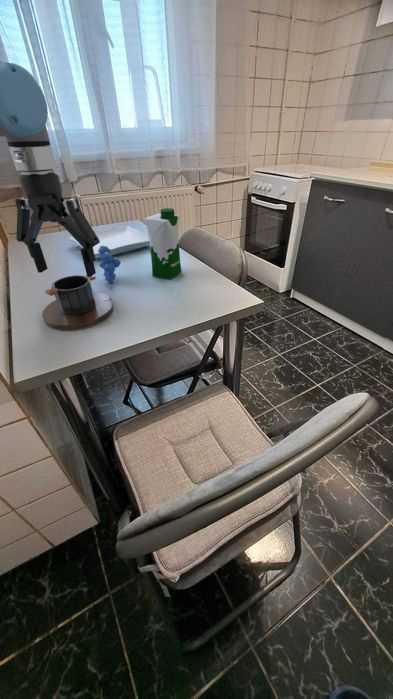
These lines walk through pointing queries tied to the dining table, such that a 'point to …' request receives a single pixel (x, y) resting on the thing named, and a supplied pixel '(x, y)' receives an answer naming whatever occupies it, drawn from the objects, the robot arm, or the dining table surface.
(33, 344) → the dining table surface
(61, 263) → the dining table surface
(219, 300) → the dining table surface
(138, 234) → the square plate
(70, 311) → the cooking pot
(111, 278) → the grapes
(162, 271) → the milk carton
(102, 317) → the turntable
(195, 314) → the dining table surface
